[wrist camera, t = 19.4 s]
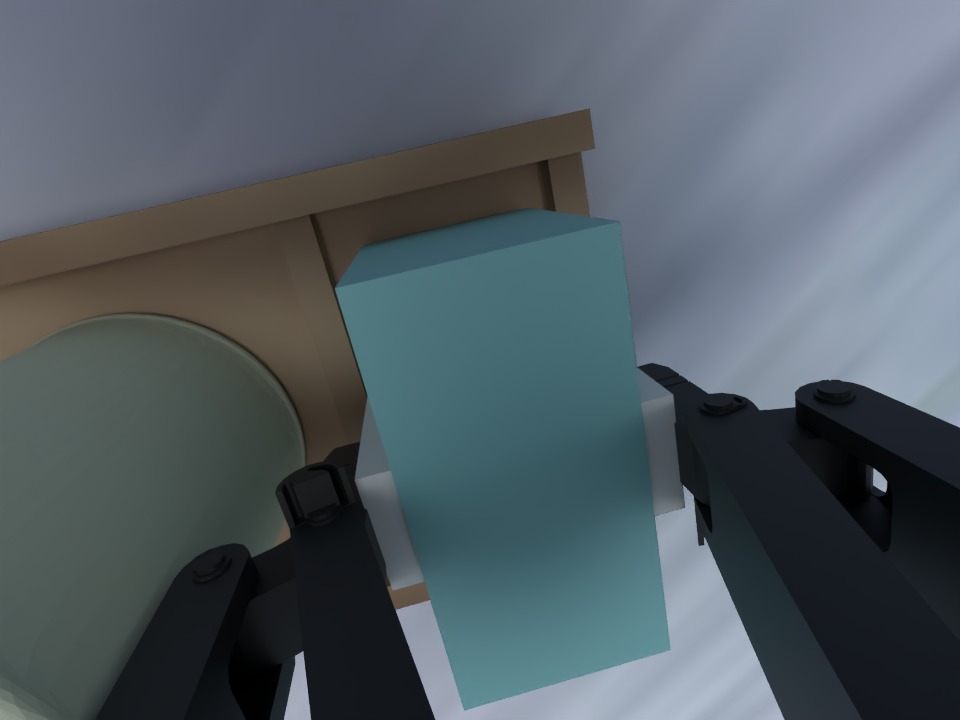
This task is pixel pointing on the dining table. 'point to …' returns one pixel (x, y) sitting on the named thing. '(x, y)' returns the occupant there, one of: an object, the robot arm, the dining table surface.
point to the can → (123, 492)
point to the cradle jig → (287, 260)
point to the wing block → (515, 442)
